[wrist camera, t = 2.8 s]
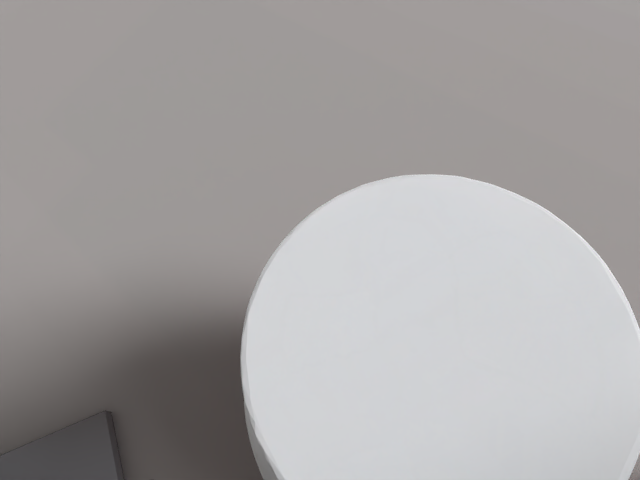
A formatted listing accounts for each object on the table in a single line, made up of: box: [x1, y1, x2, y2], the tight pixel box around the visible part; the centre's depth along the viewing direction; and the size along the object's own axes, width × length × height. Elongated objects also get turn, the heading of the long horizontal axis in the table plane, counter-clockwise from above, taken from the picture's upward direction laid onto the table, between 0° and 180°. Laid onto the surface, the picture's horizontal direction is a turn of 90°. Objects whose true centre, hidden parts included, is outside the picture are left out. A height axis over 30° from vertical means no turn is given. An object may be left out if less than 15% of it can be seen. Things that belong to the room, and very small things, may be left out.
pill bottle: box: [240, 174, 640, 480], centre depth 11 cm, size 6×6×11 cm
